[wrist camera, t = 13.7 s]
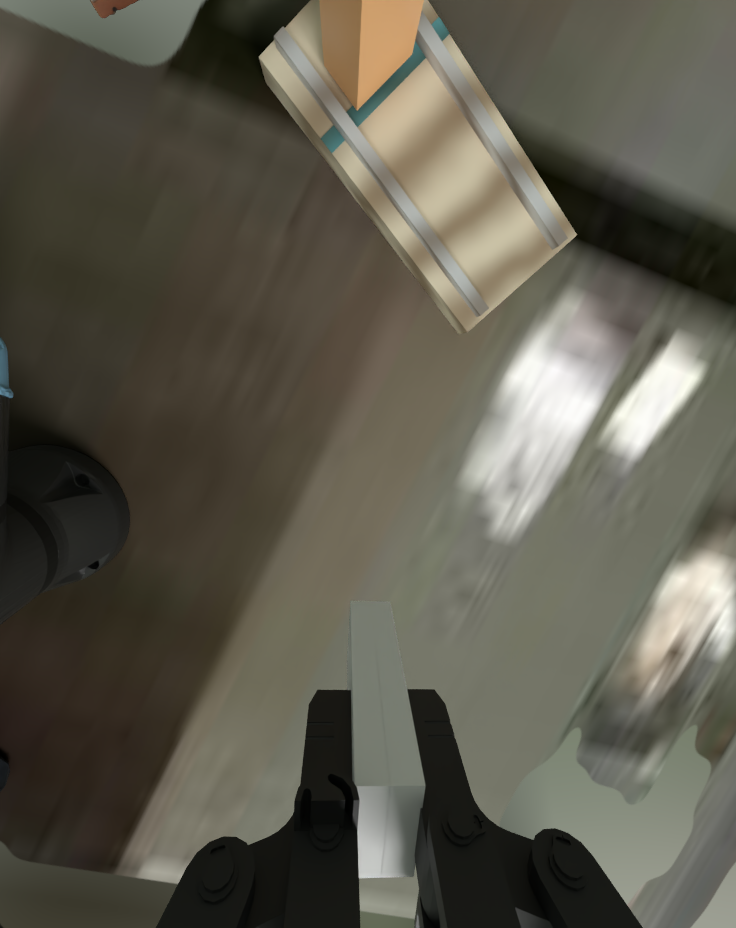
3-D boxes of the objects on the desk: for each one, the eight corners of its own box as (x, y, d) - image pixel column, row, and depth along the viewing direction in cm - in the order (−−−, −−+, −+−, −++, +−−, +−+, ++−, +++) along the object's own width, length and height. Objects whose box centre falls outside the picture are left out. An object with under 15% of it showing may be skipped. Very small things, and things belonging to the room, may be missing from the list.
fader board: (559, 244, 39) (584, 230, 35) (458, 334, 40) (471, 331, 36) (376, -37, 33) (381, -94, 29) (265, 82, 34) (255, 44, 30)
